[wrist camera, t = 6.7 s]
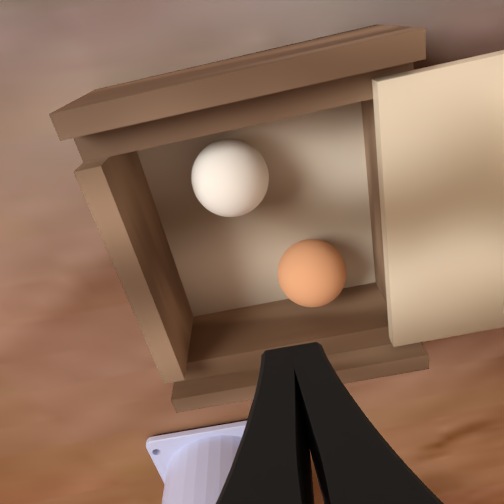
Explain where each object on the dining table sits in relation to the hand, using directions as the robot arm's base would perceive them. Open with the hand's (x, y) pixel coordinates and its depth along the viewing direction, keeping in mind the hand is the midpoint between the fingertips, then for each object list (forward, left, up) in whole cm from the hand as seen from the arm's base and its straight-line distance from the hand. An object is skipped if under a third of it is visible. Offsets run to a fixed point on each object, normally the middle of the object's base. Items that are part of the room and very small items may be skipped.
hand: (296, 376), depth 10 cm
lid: (0, -9, -7) cm, 11 cm away
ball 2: (-3, -1, -10) cm, 10 cm away
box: (0, 0, -10) cm, 10 cm away
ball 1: (+2, +1, -10) cm, 10 cm away
